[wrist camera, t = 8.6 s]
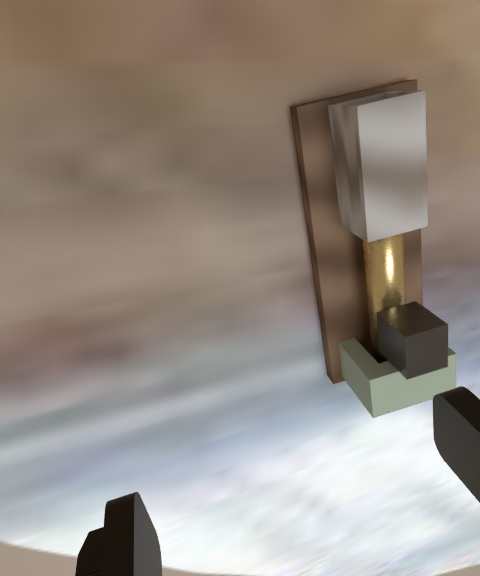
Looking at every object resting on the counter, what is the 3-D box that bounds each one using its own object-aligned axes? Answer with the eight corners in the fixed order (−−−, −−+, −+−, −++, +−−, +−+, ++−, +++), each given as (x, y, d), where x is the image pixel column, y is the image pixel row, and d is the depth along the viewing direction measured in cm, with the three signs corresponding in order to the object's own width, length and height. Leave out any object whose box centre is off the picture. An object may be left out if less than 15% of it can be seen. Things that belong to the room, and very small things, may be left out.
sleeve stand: (290, 106, 35) (321, 107, 29) (406, 80, 36) (458, 76, 30) (327, 375, 46) (355, 415, 40) (415, 348, 47) (455, 383, 41)
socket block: (338, 342, 43) (369, 380, 37) (413, 319, 44) (456, 353, 38) (342, 376, 45) (373, 417, 39) (414, 354, 45) (455, 391, 40)
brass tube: (348, 183, 36) (398, 202, 29) (389, 173, 36) (448, 189, 29) (364, 356, 43) (407, 404, 36) (398, 345, 43) (447, 391, 37)
